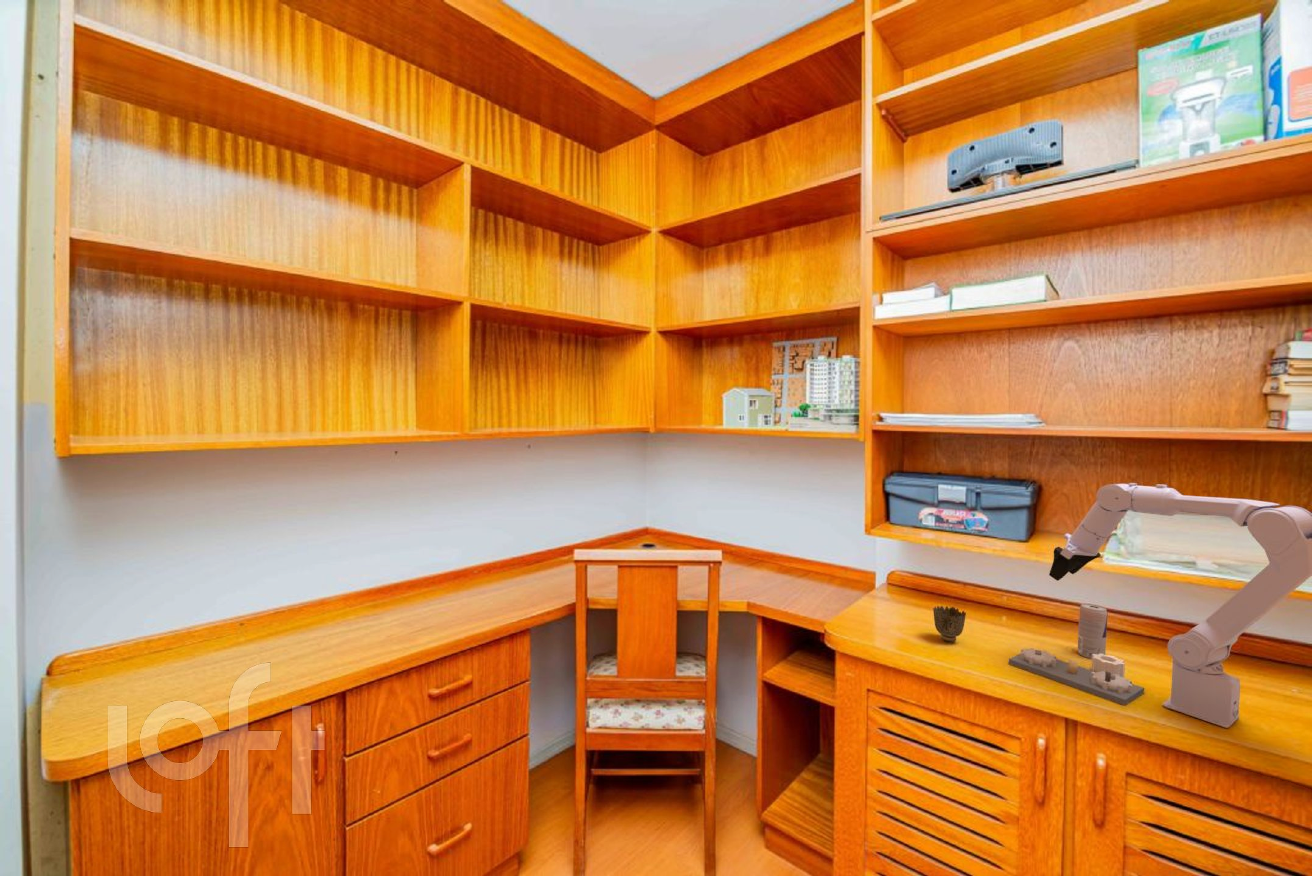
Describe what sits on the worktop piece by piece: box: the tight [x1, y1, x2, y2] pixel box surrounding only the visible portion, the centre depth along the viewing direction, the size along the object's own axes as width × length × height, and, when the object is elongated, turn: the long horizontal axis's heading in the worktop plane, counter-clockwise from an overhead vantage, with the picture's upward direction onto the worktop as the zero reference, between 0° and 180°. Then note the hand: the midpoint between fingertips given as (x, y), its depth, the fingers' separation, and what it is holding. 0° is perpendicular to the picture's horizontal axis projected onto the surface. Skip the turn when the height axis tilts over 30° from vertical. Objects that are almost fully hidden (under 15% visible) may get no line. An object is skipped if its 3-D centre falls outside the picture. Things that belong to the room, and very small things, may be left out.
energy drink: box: [1077, 603, 1108, 660], centre depth 137 cm, size 5×5×12 cm
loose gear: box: [1090, 654, 1126, 678], centre depth 128 cm, size 6×6×3 cm
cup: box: [932, 605, 967, 644], centre depth 144 cm, size 8×7×8 cm
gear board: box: [1007, 647, 1145, 706], centre depth 125 cm, size 22×10×4 cm, turn 32°
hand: (1061, 574), depth 134 cm, fingers open, 7 cm apart
